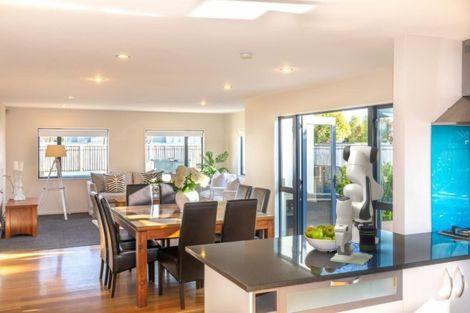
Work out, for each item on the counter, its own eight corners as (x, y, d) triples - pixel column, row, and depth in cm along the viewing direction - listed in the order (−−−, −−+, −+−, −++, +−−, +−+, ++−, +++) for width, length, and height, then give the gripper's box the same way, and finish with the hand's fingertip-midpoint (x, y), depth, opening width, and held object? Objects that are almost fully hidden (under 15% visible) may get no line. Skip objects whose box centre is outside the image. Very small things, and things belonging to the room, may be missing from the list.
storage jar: (376, 253, 258) (376, 228, 258) (359, 253, 260) (359, 227, 260) (375, 250, 268) (374, 225, 268) (358, 249, 270) (358, 225, 270)
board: (341, 253, 259) (341, 246, 259) (372, 257, 250) (372, 249, 250) (330, 260, 242) (330, 253, 242) (363, 264, 233) (363, 256, 233)
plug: (340, 256, 247) (340, 241, 247) (351, 257, 244) (351, 242, 244) (338, 257, 244) (338, 243, 244) (349, 258, 240) (349, 244, 240)
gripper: (344, 223, 254) (344, 246, 254) (332, 228, 237) (333, 254, 237) (354, 223, 251) (355, 248, 251) (344, 229, 234) (344, 255, 234)
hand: (344, 251), depth 244 cm, fingers closed on plug, 4 cm apart
